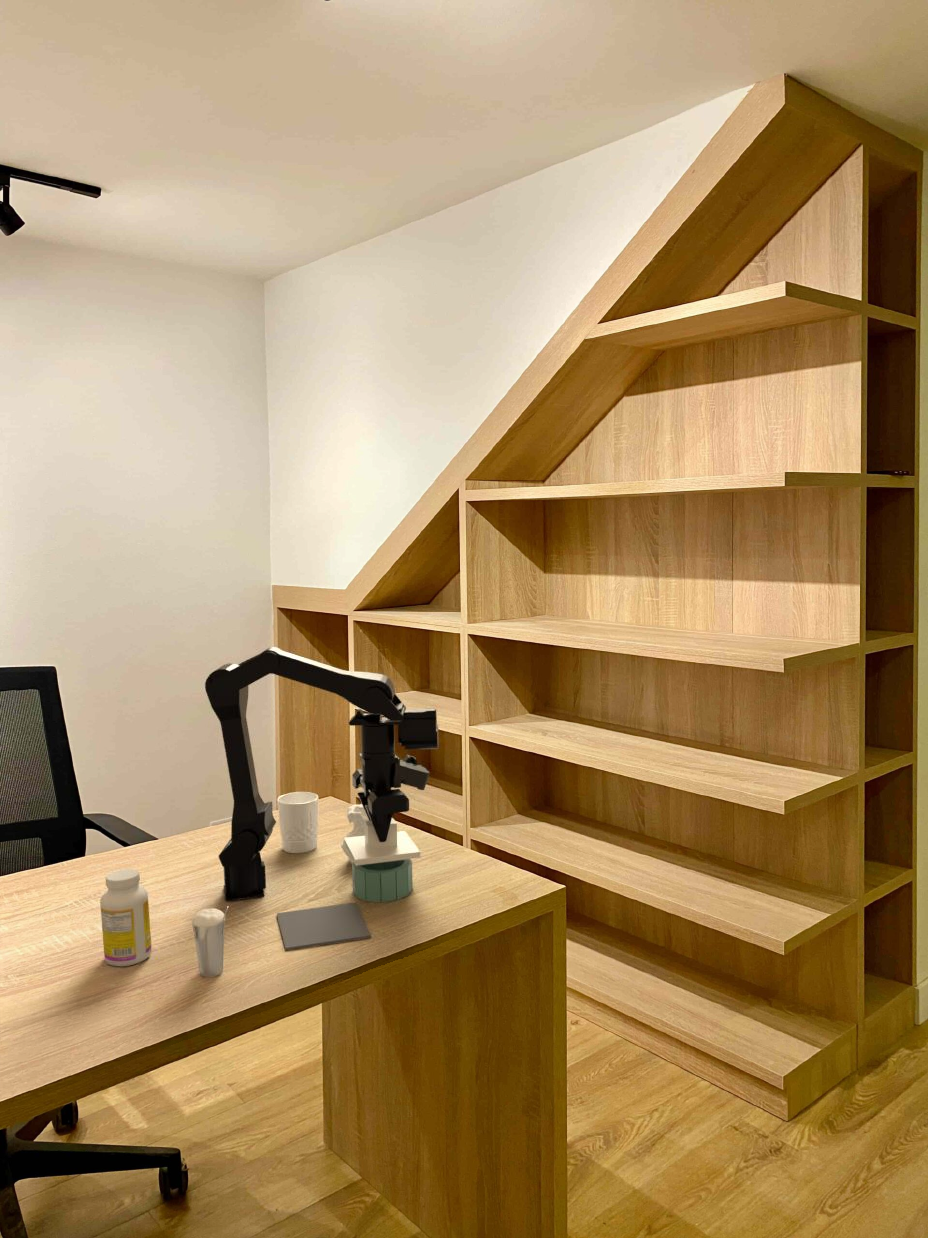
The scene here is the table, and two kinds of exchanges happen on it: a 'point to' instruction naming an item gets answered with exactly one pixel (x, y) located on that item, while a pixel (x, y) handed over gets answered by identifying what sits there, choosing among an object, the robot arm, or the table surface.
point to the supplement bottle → (125, 919)
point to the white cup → (298, 821)
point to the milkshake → (209, 941)
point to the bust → (355, 824)
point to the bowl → (382, 880)
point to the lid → (381, 846)
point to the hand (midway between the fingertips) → (380, 838)
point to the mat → (322, 926)
